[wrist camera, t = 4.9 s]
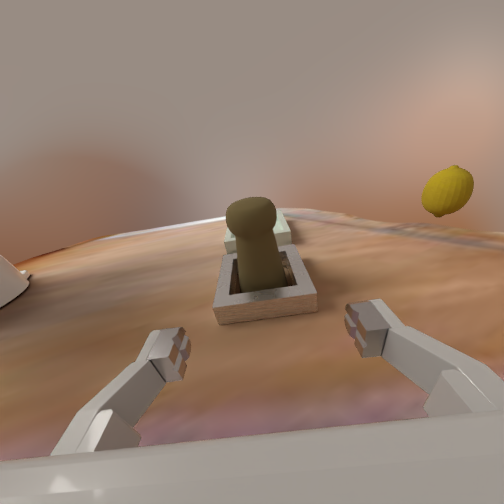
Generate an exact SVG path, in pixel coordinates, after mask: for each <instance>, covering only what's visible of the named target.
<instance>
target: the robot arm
mask: <svg viewBox="0 0 504 504" xmlns="http://www.w3.org/2000/svg"><path fill="white" fill-rule="evenodd" d="M29 276H30V273H28V272H27V271H26V270H24V271H19V270H17V269H16V268H15V267H14V266H13V265H12V264H11V263H9V262H8V261H7V260H6V259H5V258H4V257H2V256H1V255H0V307H2V306H3V305H5V304H6V303H8V302H9V301H11V300H12V299H14V298H15V297H17V296H18V295H19V294H20V293H22V292H23V291H24V290H25V289H26V288H27V287H28V285H29V281H28V280H27V278H28V277H29ZM345 310H346V311H347V314H346V315H345V320H344V321H345V326H346V329H347V331H348V333H349V335H350V336H351V337H352V338H354V339H355V346H356V348H357V350H358V352H359V354H360V355H361V357H362V358H366V357H376V356H382V358H384V359H385V360H386V361H387V362H389V363H390V364H391V365H392V366H394V367H395V368H396V369H398V370H399V371H400V372H401V373H403V374H404V375H405V376H406V377H408V378H409V379H410V380H411V381H413V382H414V383H415V384H417V385H418V386H419V387H420V388H422V389H423V390H424V391H425V392H427V393H428V394H429V396H428V398H427V400H426V402H425V404H424V407H423V408H424V410H425V411H426V413H427V414H428V416H429V417H425V418H415V419H406V420H396V421H386V422H376V423H366V424H357V425H347V426H337V427H327V428H318V429H308V430H298V431H288V432H279V433H269V434H259V435H249V436H240V437H230V438H220V439H211V440H201V441H191V442H181V443H172V444H162V445H152V446H142V447H138V445H139V442H140V439H141V436H140V434H139V433H138V432H137V431H136V430H134V429H133V427H134V426H135V424H136V423H137V422H138V420H139V419H140V418H141V416H142V415H143V414H144V412H145V411H146V410H147V408H148V407H149V406H150V404H151V403H152V402H153V400H154V399H155V398H156V396H157V395H158V394H159V392H160V391H161V390H162V388H163V387H164V386H165V384H166V382H173V381H179V380H183V378H184V374H185V371H186V367H187V365H186V362H185V361H186V360H187V359H188V358H189V356H190V352H191V342H190V339H189V337H187V336H185V332H186V331H185V330H184V328H183V327H178V328H169V329H161V330H153V331H152V332H151V333H150V334H149V336H148V338H147V340H146V342H145V344H144V346H143V348H142V350H141V352H140V354H139V355H138V357H137V359H136V361H135V362H132V363H131V364H130V365H129V366H128V367H126V368H125V369H124V370H123V371H122V372H121V373H120V374H119V375H118V376H117V377H115V378H114V379H113V380H112V381H111V382H110V383H109V384H108V385H107V386H105V387H104V388H103V389H102V390H101V391H100V392H99V393H98V394H97V395H96V396H94V397H93V398H92V399H91V400H90V401H89V402H88V403H87V404H86V405H84V406H83V407H82V408H81V409H80V410H79V411H78V412H77V413H76V415H75V417H74V418H73V420H72V421H71V423H70V424H69V426H68V428H67V429H66V431H65V432H64V434H63V435H62V437H61V439H60V440H59V442H58V443H57V445H56V446H55V448H54V449H53V451H52V453H51V454H50V456H45V457H35V458H26V459H16V460H6V461H0V504H504V381H503V380H502V379H501V378H500V377H499V376H498V375H496V374H495V373H494V372H493V371H492V370H491V369H490V368H489V367H488V366H487V365H485V364H483V363H481V362H479V361H477V360H475V359H473V358H472V357H470V356H468V355H466V354H464V353H462V352H460V351H458V350H456V349H454V348H452V347H450V346H448V345H446V344H444V343H442V342H440V341H438V340H436V339H434V338H432V337H430V336H428V335H426V334H424V333H422V332H420V331H418V330H416V329H414V328H412V327H410V326H405V325H404V324H403V323H402V322H401V321H400V320H399V318H398V317H397V316H396V315H395V314H394V313H393V312H392V311H391V309H390V308H389V307H388V306H387V305H386V304H385V303H384V302H383V301H382V300H381V299H374V300H368V301H367V300H366V301H360V302H353V303H347V304H346V307H345Z"/></svg>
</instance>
